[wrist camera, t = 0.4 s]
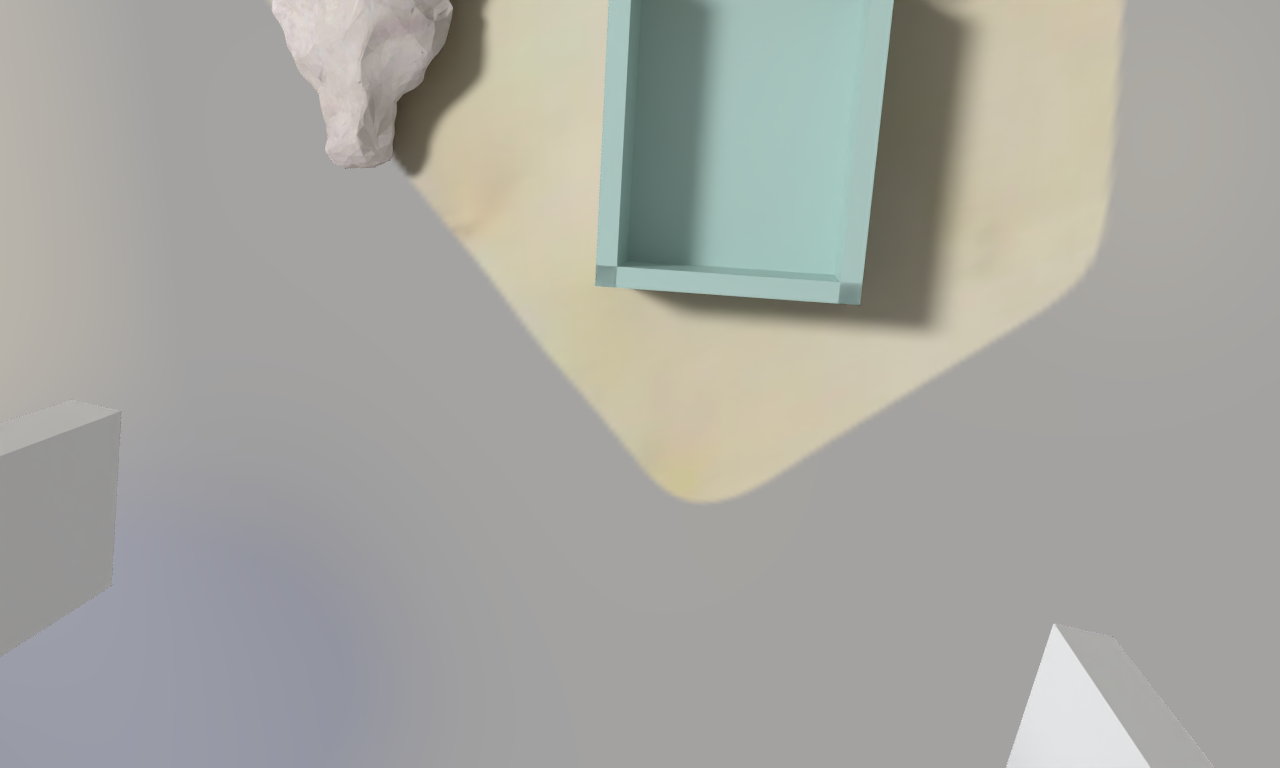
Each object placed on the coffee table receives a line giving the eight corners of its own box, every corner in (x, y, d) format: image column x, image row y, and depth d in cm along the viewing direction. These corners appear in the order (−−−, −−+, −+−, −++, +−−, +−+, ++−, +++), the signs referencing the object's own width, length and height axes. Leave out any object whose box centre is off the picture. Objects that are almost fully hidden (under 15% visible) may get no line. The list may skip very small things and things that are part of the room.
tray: (623, -24, 36) (611, -45, 33) (883, -15, 35) (897, -35, 32) (608, 277, 39) (595, 286, 35) (850, 294, 38) (860, 305, 34)
